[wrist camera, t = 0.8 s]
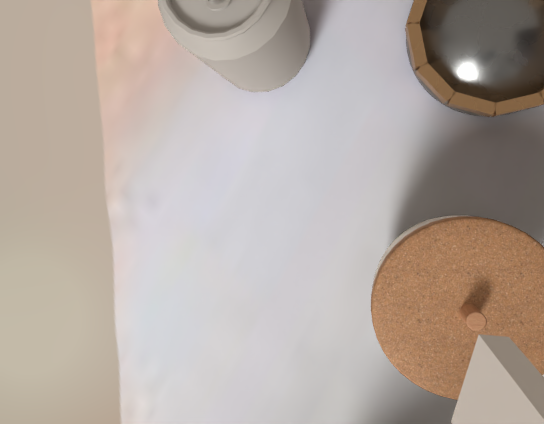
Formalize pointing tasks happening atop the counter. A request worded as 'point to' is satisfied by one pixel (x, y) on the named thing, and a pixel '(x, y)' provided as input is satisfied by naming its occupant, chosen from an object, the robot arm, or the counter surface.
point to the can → (242, 38)
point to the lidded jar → (457, 297)
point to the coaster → (479, 53)
